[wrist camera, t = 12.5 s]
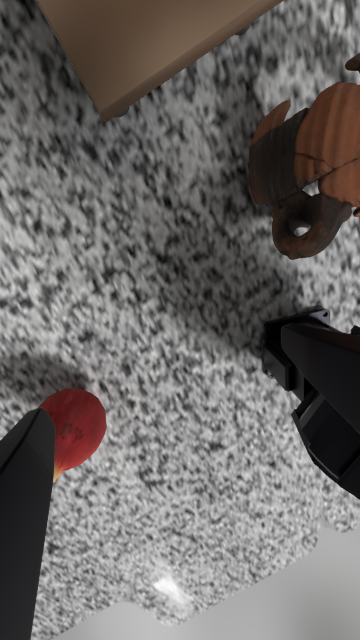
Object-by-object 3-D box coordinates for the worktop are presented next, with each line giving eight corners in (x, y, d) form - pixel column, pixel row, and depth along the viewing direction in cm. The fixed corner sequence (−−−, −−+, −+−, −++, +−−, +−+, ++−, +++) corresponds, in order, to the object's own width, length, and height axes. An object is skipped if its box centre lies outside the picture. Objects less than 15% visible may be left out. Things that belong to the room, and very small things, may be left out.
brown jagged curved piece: (264, 65, 16) (441, -50, 10) (314, 154, 22) (441, 118, 16) (213, 238, 17) (347, 233, 11) (275, 277, 23) (382, 288, 17)
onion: (35, 385, 22) (-21, 466, 14) (93, 361, 22) (67, 431, 14) (69, 427, 24) (36, 516, 17) (121, 406, 24) (111, 486, 17)
